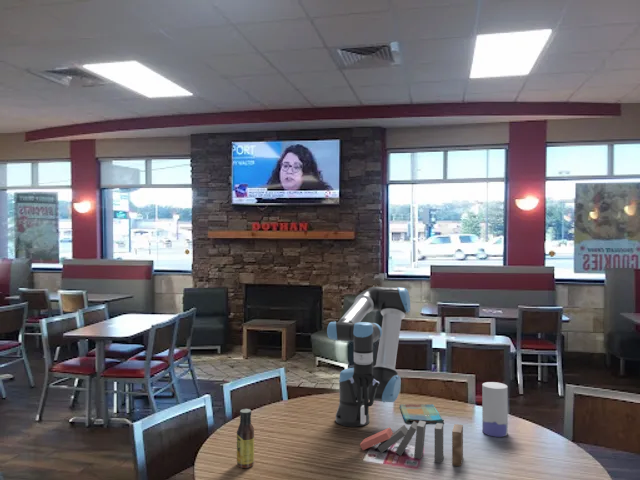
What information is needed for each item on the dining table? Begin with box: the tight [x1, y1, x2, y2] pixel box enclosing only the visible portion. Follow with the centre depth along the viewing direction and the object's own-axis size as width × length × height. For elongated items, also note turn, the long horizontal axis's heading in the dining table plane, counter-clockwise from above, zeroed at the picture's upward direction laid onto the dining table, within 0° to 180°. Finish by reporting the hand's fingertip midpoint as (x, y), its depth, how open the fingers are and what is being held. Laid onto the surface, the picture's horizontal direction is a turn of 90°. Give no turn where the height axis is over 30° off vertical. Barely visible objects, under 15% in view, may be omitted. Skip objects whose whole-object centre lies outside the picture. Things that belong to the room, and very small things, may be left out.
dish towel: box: [399, 403, 445, 425], centre depth 235 cm, size 17×23×2 cm
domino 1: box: [377, 424, 409, 454], centre depth 194 cm, size 2×6×12 cm
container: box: [481, 381, 509, 438], centre depth 213 cm, size 10×10×20 cm
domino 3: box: [413, 420, 427, 460], centre depth 190 cm, size 2×6×12 cm, turn 159°
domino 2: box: [395, 421, 418, 457], centre depth 192 cm, size 2×6×12 cm, turn 159°
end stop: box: [451, 423, 464, 467], centre depth 185 cm, size 3×8×12 cm, turn 159°
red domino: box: [359, 427, 394, 451], centre depth 196 cm, size 2×6×12 cm
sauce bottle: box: [236, 408, 255, 469], centre depth 182 cm, size 7×6×20 cm
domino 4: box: [434, 423, 444, 463], centre depth 187 cm, size 2×6×12 cm, turn 159°
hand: (363, 422), depth 198 cm, fingers closed
